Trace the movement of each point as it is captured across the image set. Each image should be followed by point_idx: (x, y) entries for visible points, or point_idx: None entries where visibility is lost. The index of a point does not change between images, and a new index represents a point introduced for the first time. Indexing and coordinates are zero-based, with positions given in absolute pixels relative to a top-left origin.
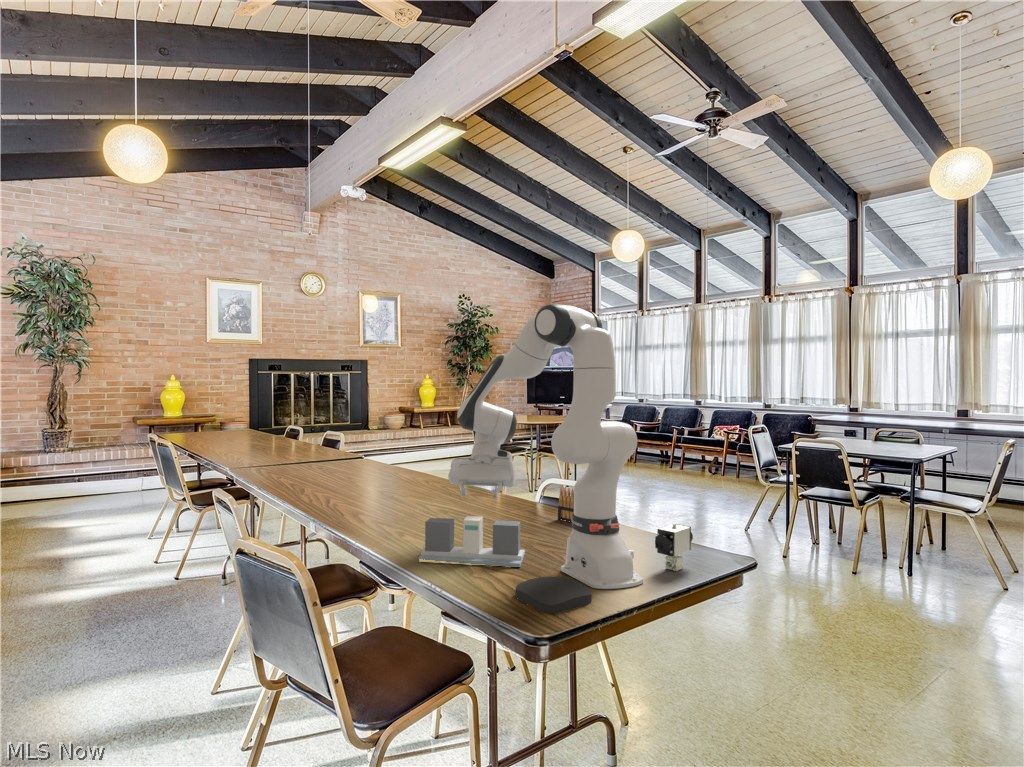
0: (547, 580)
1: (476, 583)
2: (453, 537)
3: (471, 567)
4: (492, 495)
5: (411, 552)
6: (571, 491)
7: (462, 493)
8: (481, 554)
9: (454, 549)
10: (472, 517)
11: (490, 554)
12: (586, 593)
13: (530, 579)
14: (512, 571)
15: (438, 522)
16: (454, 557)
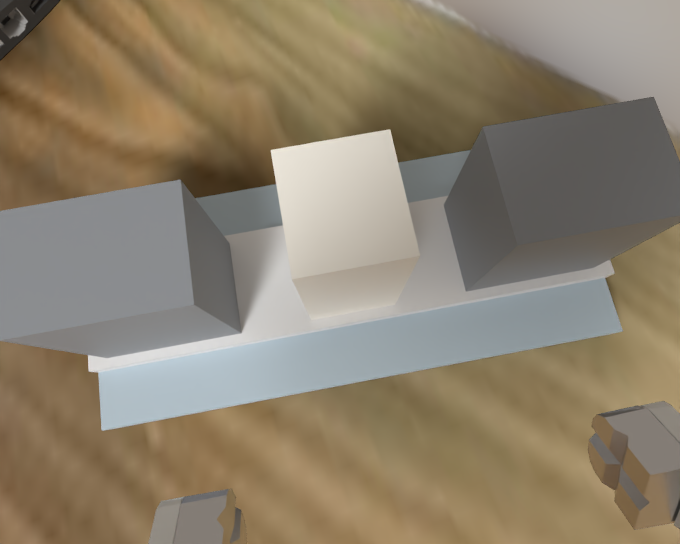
0: None
1: (224, 24)
2: (476, 265)
3: None
4: (226, 490)
5: (668, 263)
6: None
7: (636, 407)
8: (282, 225)
9: (442, 251)
10: (358, 219)
11: (238, 237)
12: None
13: (2, 7)
14: (124, 176)
15: (564, 115)
16: (406, 196)
